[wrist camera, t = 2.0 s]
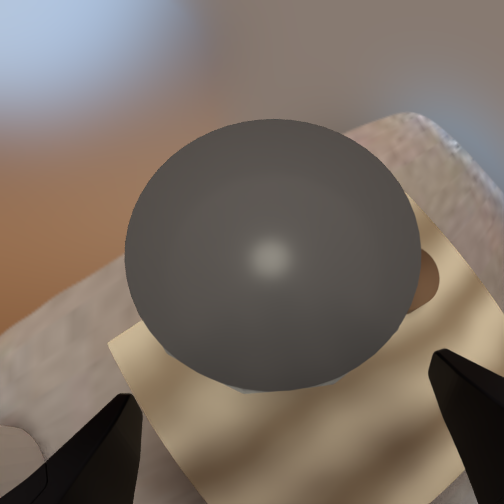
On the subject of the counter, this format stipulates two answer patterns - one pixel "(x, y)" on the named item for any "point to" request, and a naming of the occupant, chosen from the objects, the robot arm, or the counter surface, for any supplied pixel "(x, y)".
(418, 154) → the counter surface
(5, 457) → the off-white short cylinder
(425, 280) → the brown round knob
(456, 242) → the counter surface
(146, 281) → the grey cylinder
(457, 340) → the birch board
